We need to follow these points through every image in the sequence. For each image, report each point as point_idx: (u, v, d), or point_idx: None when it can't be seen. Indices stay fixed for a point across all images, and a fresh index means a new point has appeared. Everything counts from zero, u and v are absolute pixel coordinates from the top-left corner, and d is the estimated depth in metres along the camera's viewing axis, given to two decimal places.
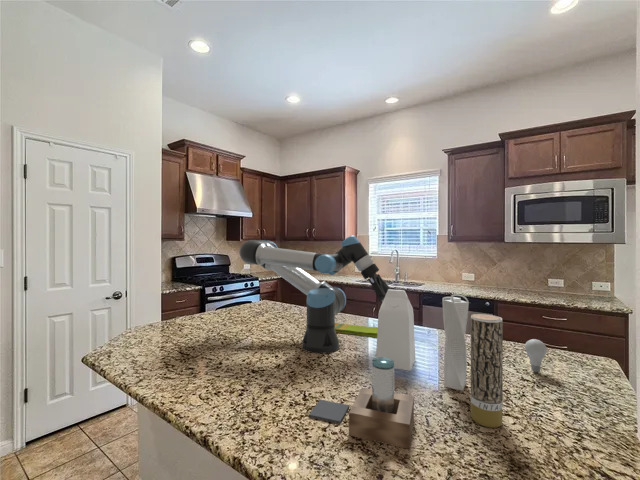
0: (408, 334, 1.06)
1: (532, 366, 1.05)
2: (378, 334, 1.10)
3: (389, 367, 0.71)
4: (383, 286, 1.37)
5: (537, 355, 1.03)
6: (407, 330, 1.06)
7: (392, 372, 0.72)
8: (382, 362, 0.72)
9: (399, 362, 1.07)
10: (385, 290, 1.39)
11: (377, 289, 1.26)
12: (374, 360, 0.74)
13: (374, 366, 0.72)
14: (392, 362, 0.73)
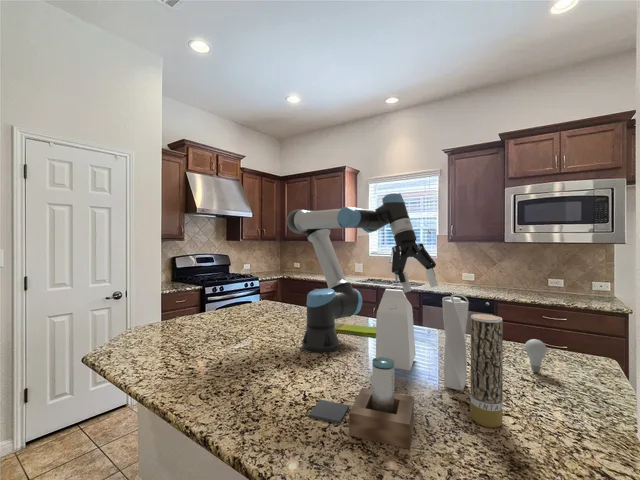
0: (407, 336, 1.05)
1: (532, 366, 1.05)
2: (377, 336, 1.09)
3: (389, 367, 0.71)
4: (420, 259, 1.14)
5: (537, 355, 1.03)
6: (406, 332, 1.04)
7: (392, 372, 0.72)
8: (382, 362, 0.72)
9: (398, 362, 1.07)
10: (424, 264, 1.15)
11: (395, 260, 1.07)
12: (374, 360, 0.74)
13: (374, 366, 0.72)
14: (392, 362, 0.73)
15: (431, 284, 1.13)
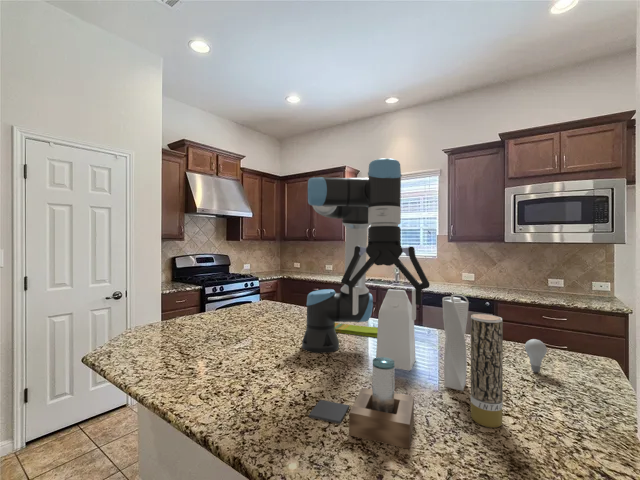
0: (408, 334, 1.06)
1: (532, 366, 1.05)
2: (378, 334, 1.11)
3: (389, 367, 0.71)
4: (401, 271, 0.72)
5: (537, 355, 1.03)
6: (407, 330, 1.06)
7: (392, 372, 0.72)
8: (382, 362, 0.72)
9: (399, 362, 1.07)
10: None
11: None
12: (374, 360, 0.74)
13: (374, 366, 0.72)
14: (392, 362, 0.73)
15: None
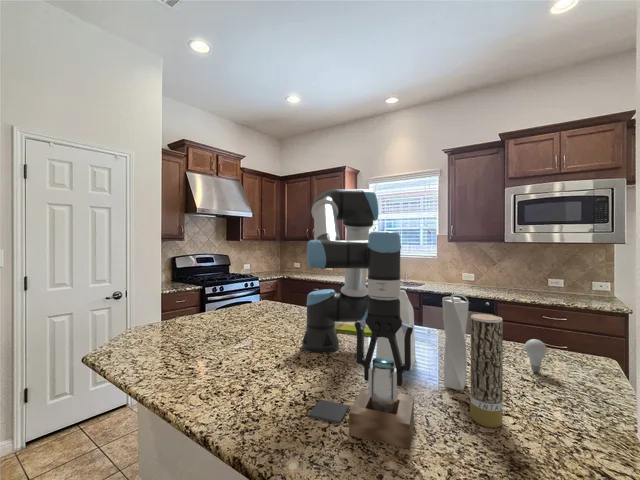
0: None
1: (532, 366, 1.05)
2: None
3: (389, 367, 0.71)
4: None
5: (537, 355, 1.03)
6: None
7: (392, 372, 0.72)
8: (382, 362, 0.72)
9: None
10: None
11: None
12: (374, 360, 0.74)
13: (374, 366, 0.72)
14: (392, 362, 0.73)
15: None
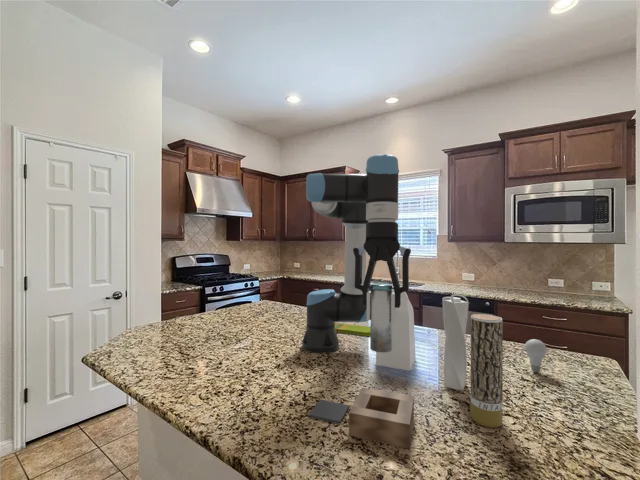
0: (408, 334, 1.06)
1: (532, 366, 1.05)
2: None
3: (387, 288, 0.72)
4: None
5: (537, 355, 1.03)
6: (407, 330, 1.06)
7: (390, 294, 0.72)
8: (380, 285, 0.73)
9: (399, 362, 1.07)
10: None
11: None
12: (372, 284, 0.74)
13: (372, 289, 0.73)
14: (390, 285, 0.73)
15: None
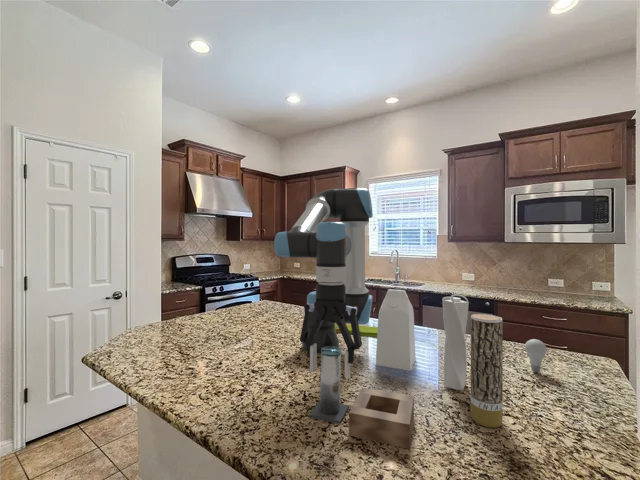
0: (408, 334, 1.06)
1: (532, 366, 1.05)
2: (378, 334, 1.11)
3: (335, 354, 0.77)
4: None
5: (537, 355, 1.03)
6: (407, 330, 1.06)
7: (338, 359, 0.78)
8: (329, 350, 0.78)
9: (399, 362, 1.07)
10: None
11: None
12: (323, 348, 0.80)
13: (322, 353, 0.78)
14: (339, 350, 0.79)
15: None
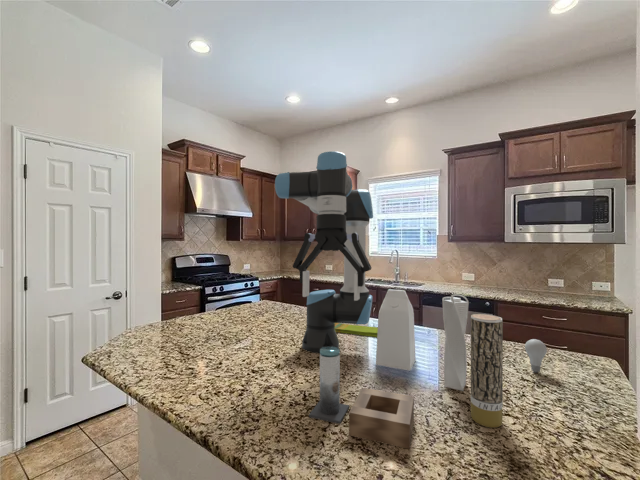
0: (408, 334, 1.06)
1: (532, 366, 1.05)
2: (378, 334, 1.11)
3: (333, 355, 0.77)
4: None
5: (537, 355, 1.03)
6: (407, 330, 1.06)
7: (337, 360, 0.77)
8: (328, 351, 0.78)
9: (399, 362, 1.07)
10: None
11: None
12: (321, 349, 0.79)
13: (320, 354, 0.78)
14: (337, 350, 0.78)
15: None
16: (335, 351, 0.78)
